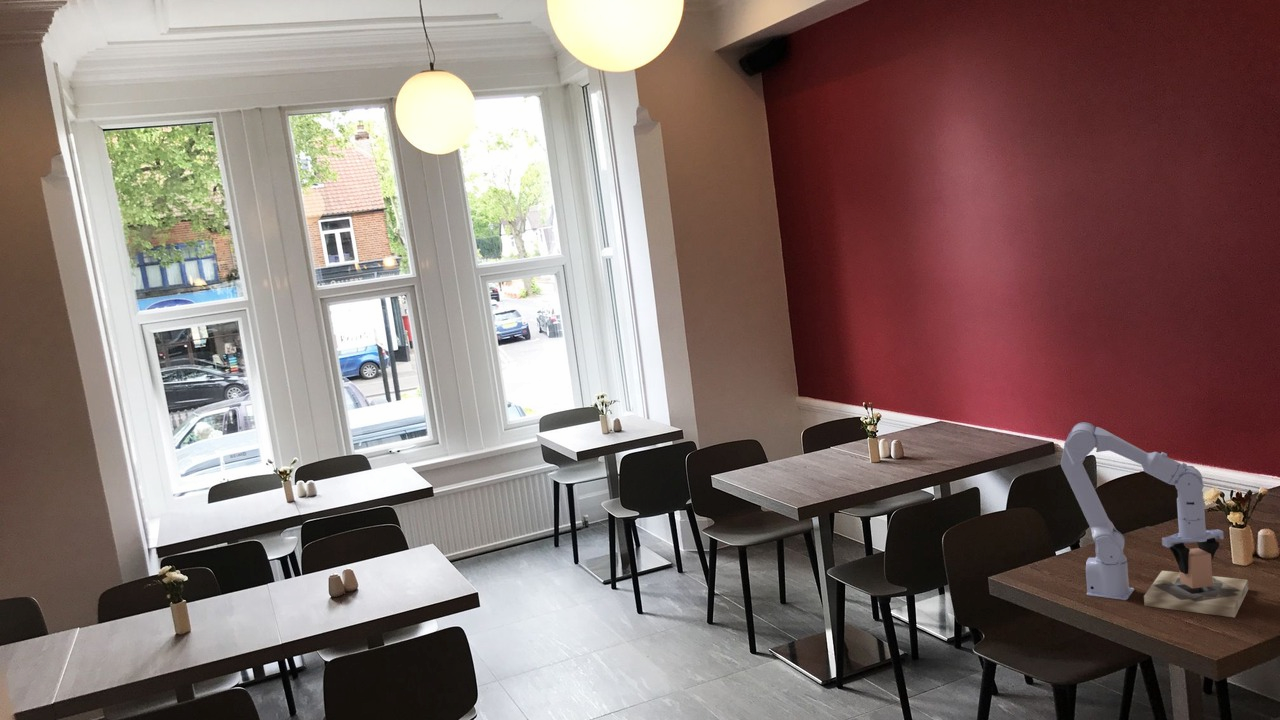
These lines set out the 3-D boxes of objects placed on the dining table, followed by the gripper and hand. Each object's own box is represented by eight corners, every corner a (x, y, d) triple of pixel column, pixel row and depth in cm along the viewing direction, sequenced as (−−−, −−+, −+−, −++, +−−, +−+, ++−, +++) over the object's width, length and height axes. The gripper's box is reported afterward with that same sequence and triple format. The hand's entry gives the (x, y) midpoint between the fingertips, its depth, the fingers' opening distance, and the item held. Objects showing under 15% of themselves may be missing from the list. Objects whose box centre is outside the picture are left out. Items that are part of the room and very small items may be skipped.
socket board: (1144, 605, 234) (1143, 596, 233) (1162, 579, 248) (1161, 570, 248) (1234, 617, 221) (1234, 607, 221) (1248, 589, 235) (1247, 579, 235)
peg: (1192, 588, 231) (1190, 556, 231) (1180, 581, 236) (1178, 550, 235) (1212, 585, 232) (1211, 554, 231) (1199, 579, 237) (1198, 547, 236)
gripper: (1173, 525, 228) (1177, 580, 229) (1230, 517, 229) (1234, 571, 230) (1155, 518, 235) (1159, 571, 236) (1211, 509, 236) (1214, 562, 237)
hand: (1194, 570), depth 234 cm, fingers closed on peg, 5 cm apart
